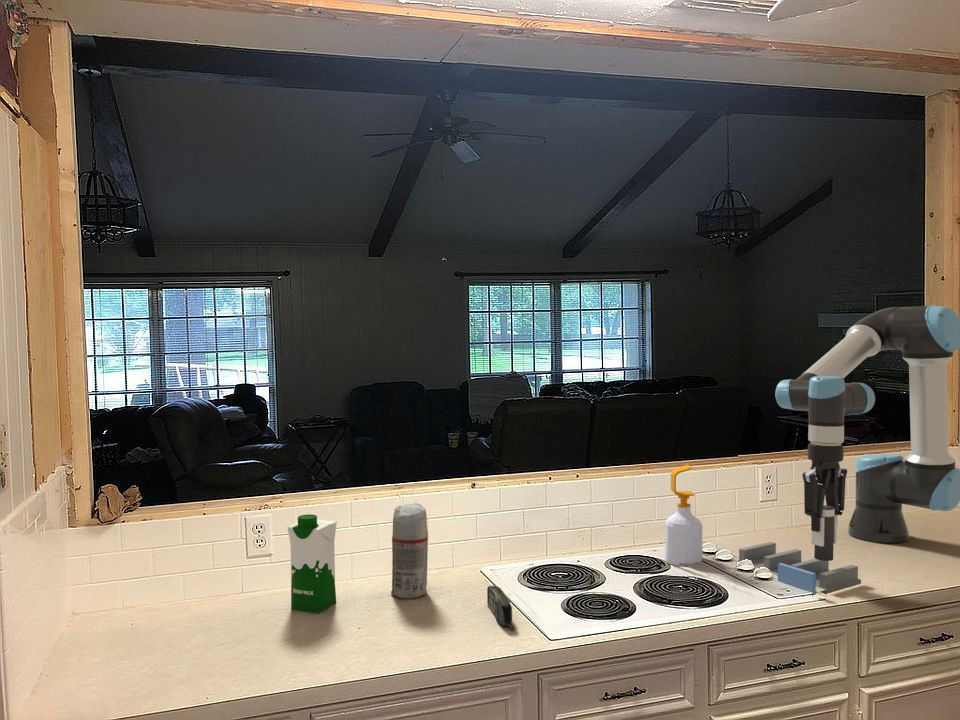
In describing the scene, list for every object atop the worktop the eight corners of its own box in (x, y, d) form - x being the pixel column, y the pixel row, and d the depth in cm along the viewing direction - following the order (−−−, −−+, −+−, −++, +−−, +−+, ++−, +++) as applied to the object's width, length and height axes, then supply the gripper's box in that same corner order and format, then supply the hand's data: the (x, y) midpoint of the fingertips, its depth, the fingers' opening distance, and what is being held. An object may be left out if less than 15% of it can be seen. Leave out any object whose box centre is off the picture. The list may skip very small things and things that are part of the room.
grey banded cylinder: (821, 554, 180) (822, 504, 180) (837, 559, 176) (838, 507, 176) (810, 557, 178) (810, 506, 177) (826, 562, 174) (827, 510, 174)
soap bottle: (706, 567, 189) (707, 469, 188) (669, 567, 189) (669, 469, 188) (696, 556, 198) (697, 462, 197) (661, 556, 198) (661, 462, 197)
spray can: (435, 590, 174) (434, 503, 173) (417, 602, 167) (416, 511, 166) (403, 585, 178) (402, 500, 177) (384, 596, 170) (383, 507, 169)
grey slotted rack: (770, 556, 198) (770, 541, 198) (861, 583, 176) (861, 566, 176) (736, 564, 191) (736, 548, 191) (825, 594, 170) (826, 576, 170)
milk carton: (284, 611, 162) (283, 517, 161) (307, 596, 171) (306, 508, 170) (321, 615, 159) (319, 520, 158) (342, 601, 168) (341, 510, 167)
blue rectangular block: (780, 584, 176) (781, 562, 176) (815, 595, 169) (815, 573, 169) (777, 585, 176) (777, 563, 176) (812, 596, 168) (812, 574, 168)
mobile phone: (484, 584, 164) (503, 607, 150) (498, 583, 165) (517, 605, 150) (485, 607, 164) (503, 632, 150) (498, 606, 165) (518, 630, 151)
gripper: (833, 438, 184) (832, 534, 185) (787, 443, 175) (786, 544, 176) (863, 442, 177) (861, 542, 178) (816, 448, 168) (815, 553, 169)
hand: (824, 543), depth 177 cm, fingers closed on grey banded cylinder, 4 cm apart
